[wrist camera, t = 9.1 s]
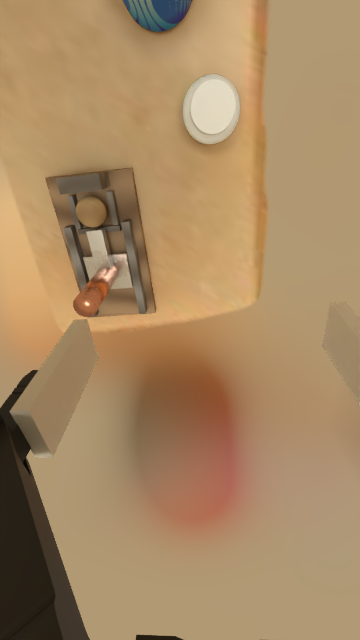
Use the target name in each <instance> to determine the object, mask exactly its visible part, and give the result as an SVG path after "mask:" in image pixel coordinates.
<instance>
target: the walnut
mask: <svg viewBox="0 0 360 640" xmlns="http://www.w3.org/2000/svg"><path fill="white" fill-rule="evenodd" d="M76 215H77V217H78V219H79V221H80V222H81V223H82V224H84V225H85V226H88V227H98V226H100V225H102V224H103V223H104V221H105V219H106V216H107V210H106V207H105V205H104V203H103V202H102V201H101V200H100V199H99V198H97V197H94V196H86V197H83V198H82V199H80V200H79V202H78V203H77V206H76Z"/></svg>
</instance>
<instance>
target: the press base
mask: <svg viewBox="0 0 360 640" xmlns="http://www.w3.org/2000/svg"><path fill="white" fill-rule="evenodd" d="M45 179H46V182H47V185H48V189H49V192H50V195H51V199H52V202H53V205H54V208H55V212H56V215H57V218H58V222H59V225H60V228H61V231H62V235H63V238H64V241H65V245H66V248H67V251H68V254H69V258H70V261H71V264H72V268H73V271H74V274H75V277H76V281H77V284H78V287H79V291H80V292H81V291H82V290H83V288H84V287H85V286H86V285H87V283H88V282H89V277H88V273H87V270H86V266H85V263H84V259H83V257H84V256H85V255H92V252H91V248H90V244H89V241H88V237H87V233H86V231H87V230H89V229H91V228H101V227H105V230H106V235H107V239H108V243H109V248H110V252H111V253H116V252H127V254H128V259H129V264H130V269H131V274H132V279H133V284H134V286H133V288H121V289H110V290H109V292H108V294H107V295H106V297H105V299H104V300H103V302H102V304H101V305H100V307H99V309H98V310H97V312H96V313H95V315H93V316H91V317H102V316H117V315H131V314H146V313H155V312H156V307H155V301H154V295H153V289H152V283H151V277H150V271H149V265H148V259H147V253H146V247H145V241H144V235H143V228H142V222H141V216H140V210H139V204H138V198H137V192H136V186H135V180H134V174H133V168H126V169H118V170H109V171H100V172H92V173H83V174H74V175H66V176H57V177H49V178H45ZM86 196H94V197H97V198H99V199H100V200H101V201H102V202H103V203H104V205H105V207H106V210H107V216H106V219H105V221H104V223H103V224H102V225H100V226H98V227H88V226H85V225H84V224H82V223H81V222H80V221H79V219H78V217H77V215H76V206H77V203H78V202H79V200H80V199H82V198H83V197H86Z"/></svg>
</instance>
